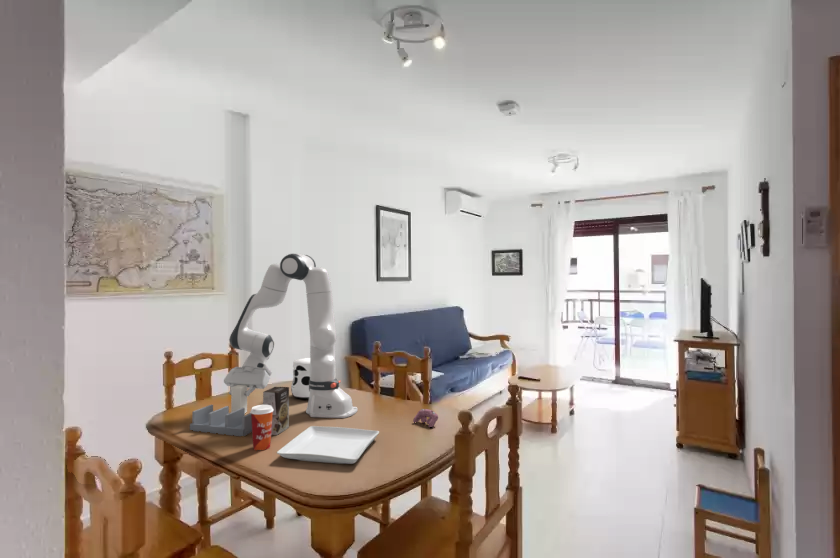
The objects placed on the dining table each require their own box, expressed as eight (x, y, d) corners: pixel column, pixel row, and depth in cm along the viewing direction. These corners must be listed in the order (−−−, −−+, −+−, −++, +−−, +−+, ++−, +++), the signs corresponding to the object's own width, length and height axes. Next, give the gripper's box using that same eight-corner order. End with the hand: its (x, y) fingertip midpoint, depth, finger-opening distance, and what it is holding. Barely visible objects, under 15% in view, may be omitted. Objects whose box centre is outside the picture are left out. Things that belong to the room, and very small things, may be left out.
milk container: (334, 395, 223) (334, 359, 223) (309, 403, 208) (309, 365, 208) (309, 390, 231) (309, 356, 231) (283, 398, 217) (283, 361, 217)
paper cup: (259, 453, 148) (260, 411, 148) (245, 448, 152) (245, 408, 152) (278, 446, 154) (278, 406, 154) (264, 441, 158) (264, 402, 158)
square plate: (356, 470, 136) (357, 458, 136) (274, 463, 141) (274, 451, 141) (380, 439, 162) (380, 428, 162) (310, 434, 167) (310, 424, 167)
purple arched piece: (436, 430, 176) (441, 413, 178) (429, 428, 173) (434, 410, 175) (418, 425, 182) (423, 408, 185) (411, 422, 179) (416, 405, 182)
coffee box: (277, 435, 165) (277, 392, 165) (262, 434, 166) (262, 391, 166) (289, 427, 174) (289, 386, 174) (274, 426, 175) (274, 385, 175)
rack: (262, 426, 175) (262, 408, 175) (243, 436, 163) (243, 417, 163) (212, 420, 181) (212, 403, 181) (189, 430, 170) (189, 412, 170)
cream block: (247, 412, 192) (247, 385, 192) (240, 416, 188) (240, 387, 188) (238, 412, 193) (238, 384, 193) (231, 415, 189) (231, 387, 189)
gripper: (230, 362, 200) (214, 389, 191) (269, 365, 195) (255, 392, 185) (236, 370, 204) (221, 396, 195) (275, 373, 199) (261, 400, 190)
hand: (238, 394), depth 190 cm, fingers open, 6 cm apart
